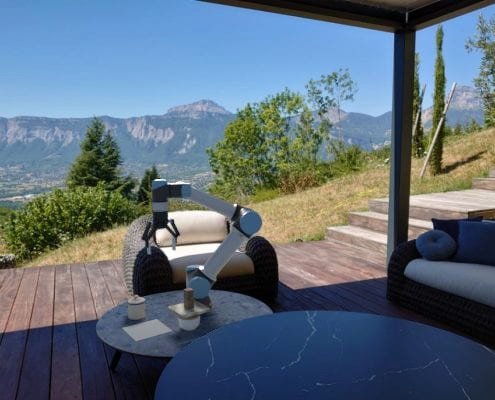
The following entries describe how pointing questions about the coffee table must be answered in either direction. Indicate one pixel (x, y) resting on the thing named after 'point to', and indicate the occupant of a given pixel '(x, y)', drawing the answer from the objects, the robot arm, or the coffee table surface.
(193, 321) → the lidded jar
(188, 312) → the board
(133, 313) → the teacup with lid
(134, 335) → the mat
